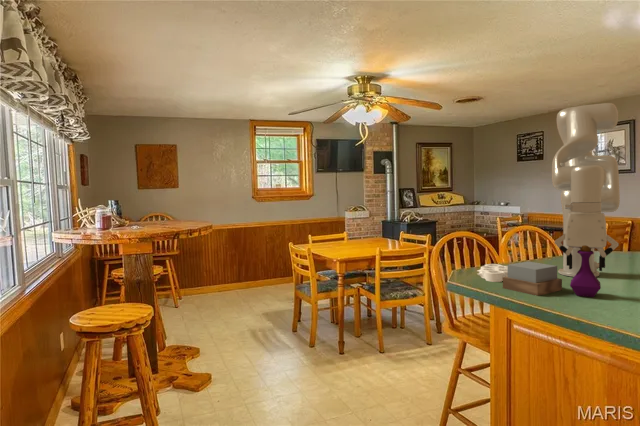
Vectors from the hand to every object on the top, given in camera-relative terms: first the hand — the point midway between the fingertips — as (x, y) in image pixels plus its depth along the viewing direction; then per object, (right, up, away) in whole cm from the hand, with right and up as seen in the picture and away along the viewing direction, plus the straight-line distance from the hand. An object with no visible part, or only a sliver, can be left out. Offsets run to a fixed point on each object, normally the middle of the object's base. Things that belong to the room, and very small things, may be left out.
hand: (585, 268), depth 127 cm
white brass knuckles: (-14, -7, +29) cm, 33 cm away
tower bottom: (-11, -8, +9) cm, 17 cm away
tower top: (-11, -4, +9) cm, 15 cm away
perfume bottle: (0, -8, 0) cm, 8 cm away
